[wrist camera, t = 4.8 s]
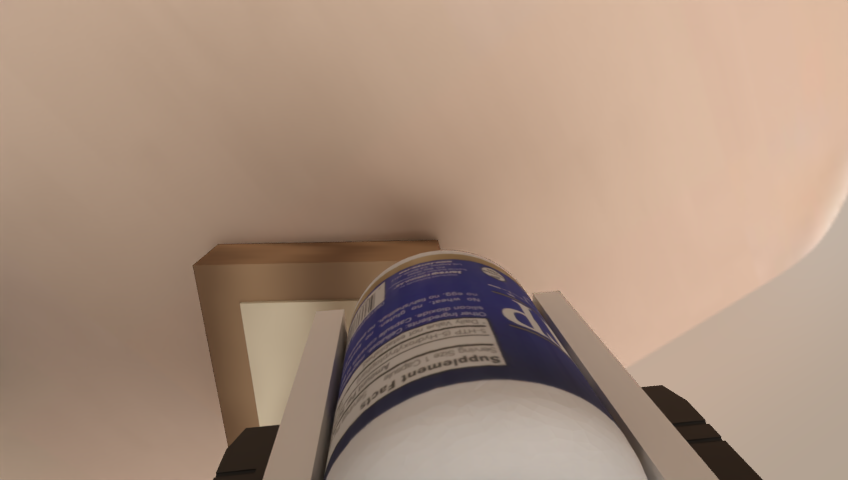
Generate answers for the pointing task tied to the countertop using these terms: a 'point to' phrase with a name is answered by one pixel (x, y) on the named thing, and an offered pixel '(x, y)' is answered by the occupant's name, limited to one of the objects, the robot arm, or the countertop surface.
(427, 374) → the pill bottle
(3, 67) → the countertop surface
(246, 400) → the stand
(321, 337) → the robot arm
